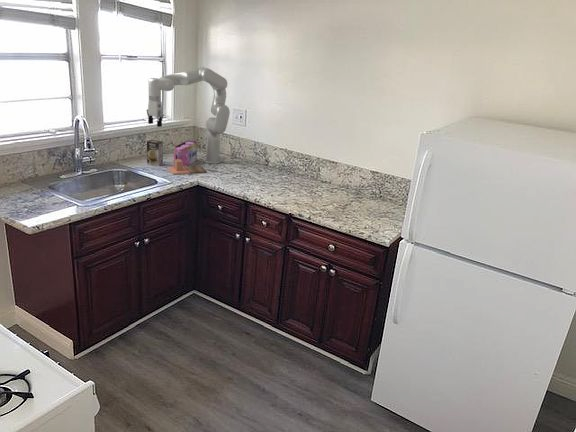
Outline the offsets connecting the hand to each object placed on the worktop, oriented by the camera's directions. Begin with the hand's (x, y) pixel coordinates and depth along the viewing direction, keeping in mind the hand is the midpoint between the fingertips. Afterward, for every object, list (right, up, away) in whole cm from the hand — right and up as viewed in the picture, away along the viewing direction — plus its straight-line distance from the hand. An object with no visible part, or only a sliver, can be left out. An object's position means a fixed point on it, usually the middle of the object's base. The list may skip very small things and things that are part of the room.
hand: (155, 125), depth 303 cm
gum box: (+14, -22, +24) cm, 36 cm away
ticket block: (+24, -29, +10) cm, 39 cm away
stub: (+14, -30, +4) cm, 33 cm away
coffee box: (-4, -24, +14) cm, 28 cm away
